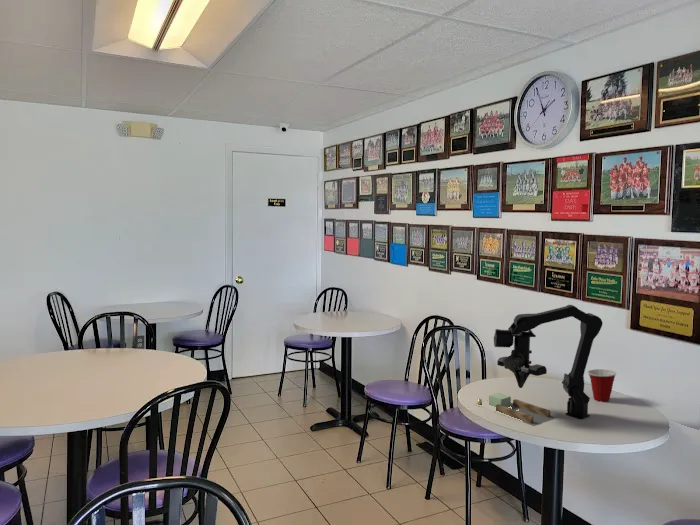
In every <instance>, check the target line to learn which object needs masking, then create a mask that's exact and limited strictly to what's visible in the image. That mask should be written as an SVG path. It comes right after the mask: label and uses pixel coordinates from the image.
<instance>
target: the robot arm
mask: <svg viewBox="0 0 700 525" xmlns="http://www.w3.org/2000/svg"><path fill="white" fill-rule="evenodd" d="M571 317H572V318H574V319H576V320H578V321H579V322H580V326H579V329H580V338H579V342H578V346H577V349H576V352H575V356H574V360H573V363H572V365H571V366H572V367H571V370H570V372H569V373H564V374H563V380H562V382H561V384H562V388H563V390H564V392H566V394H567V395H568V396H569V397H568V401H567V402H566V404H567V405H566V412H565V415H567V416H569V417H572V418H576V419H578V420H584V419H586V418H589V417H590V414H589V413H588V412H589V403H590V400H591V398H590V397H589V395H588V394H586V392H584V391H585V377H584V375H585V372H586V367H587V364H588V361H589V357H590V353H591V350H592V346H593V342H594V339H595V338H596V337H597V336H599V333H600V331H601V329H602V327H603V321H602V319H601V318H600V316H598V315H595V314H593V313H590V312H587V313H586V312H584V311H583V310H581V309H579V308H578V307H576V306H575V305H573V304H568V305H566V306H561V307H557V308H554V309H550V310H546V311H542V312H537V313H521V314H520V313H519V314H517V315H516V316H514V318H513V322H512V323H511V325H510V326H509V327H508V329H498V328H496V329H495V331H494V335H493V345H494V348H511V347H512V346H513V349H511V353H510V355H508V356H507V355H506V356H502V357H499V358H498V359H497V362H496V363H497V366H498V367H499V366H500V367H504V369H505V370H509V371H510V372H512V374H513V375H514V376H515V380H516V382H517V383H516V384H517V385H518V388H519V389H523V388H524V385H525V383H526V382H527V379H528V378H529V377H530V375H532V376H537V377H538V376H539V377H540V376H543V375H547V370H548V369H547V367H546V365H541V364H532V360H530V354H533V353H532V349H530V348H531V347H530V346H531V338H536V334H535V333H534V332H533V331H532V330H533V329H535V328H537V327H538V326H541V325H543V324H546V323H551V322H554V321H555V322H556V321H558V320H563V319H567V318H571Z"/></svg>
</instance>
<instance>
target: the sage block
mask: <svg viewBox="0 0 700 525" xmlns="http://www.w3.org/2000/svg"><path fill="white" fill-rule="evenodd" d="M511 397H512V396H510V395H507V394H505V393H501V392H496V393H493V394H489V395H488V400H489V405H491V406H494V407H496V405H498V404H499V405H502V406H505V407H510V406H511V403H512V398H511Z"/></svg>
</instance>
